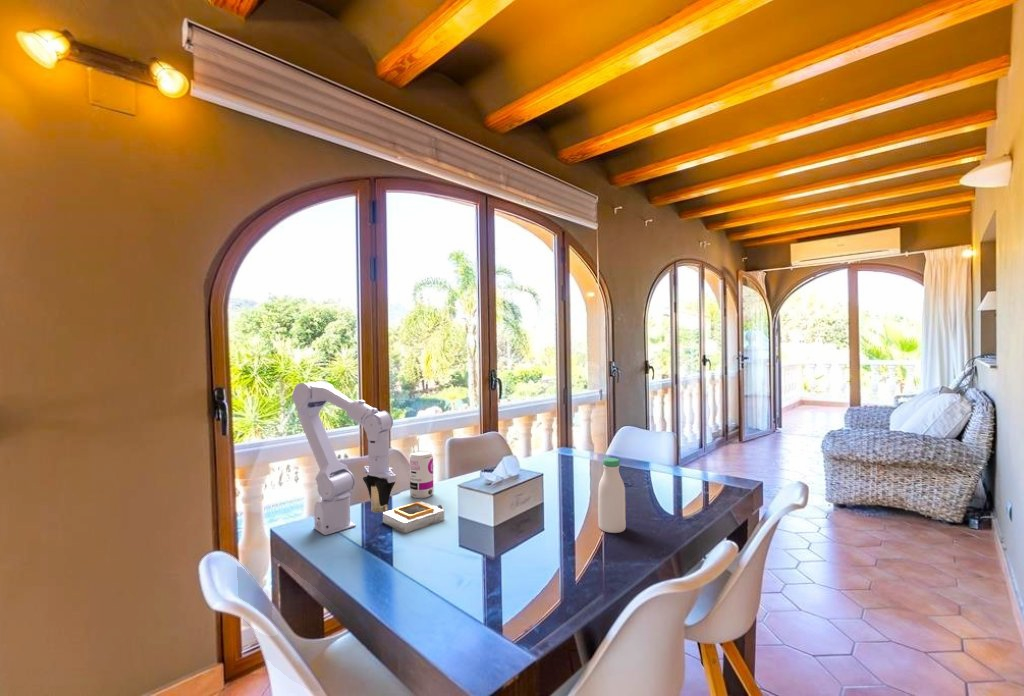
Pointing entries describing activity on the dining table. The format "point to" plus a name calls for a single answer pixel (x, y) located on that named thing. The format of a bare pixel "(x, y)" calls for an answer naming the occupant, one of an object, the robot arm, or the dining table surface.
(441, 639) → the dining table surface
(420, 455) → the supplement can
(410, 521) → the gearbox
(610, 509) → the milk bottle
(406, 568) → the dining table surface
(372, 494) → the spout can
